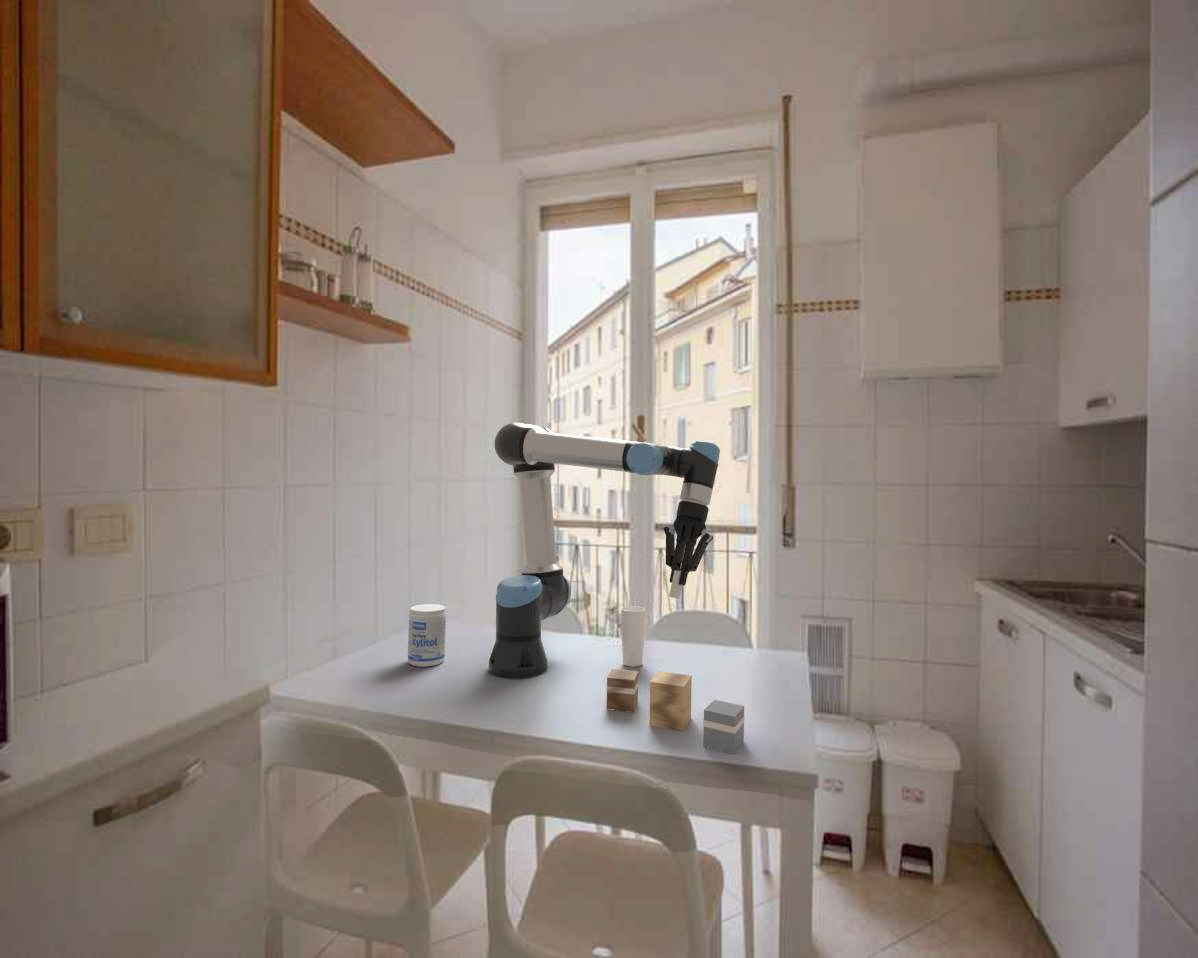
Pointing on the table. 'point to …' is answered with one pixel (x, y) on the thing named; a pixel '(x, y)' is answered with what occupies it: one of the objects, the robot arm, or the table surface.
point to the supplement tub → (426, 635)
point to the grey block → (723, 726)
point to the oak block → (670, 700)
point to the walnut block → (622, 690)
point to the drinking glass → (633, 634)
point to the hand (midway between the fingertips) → (674, 597)
